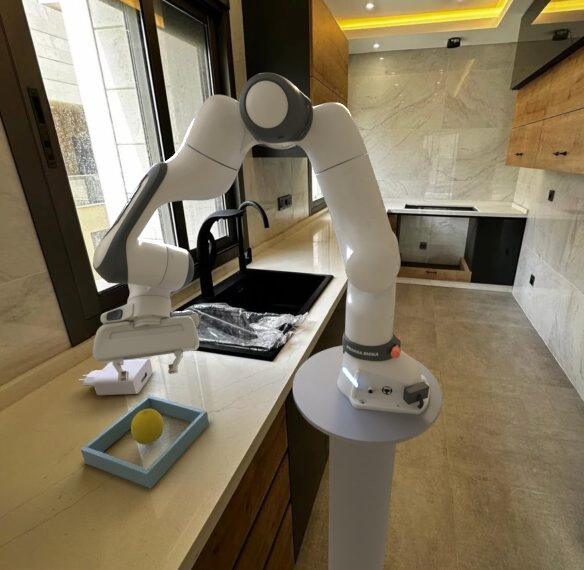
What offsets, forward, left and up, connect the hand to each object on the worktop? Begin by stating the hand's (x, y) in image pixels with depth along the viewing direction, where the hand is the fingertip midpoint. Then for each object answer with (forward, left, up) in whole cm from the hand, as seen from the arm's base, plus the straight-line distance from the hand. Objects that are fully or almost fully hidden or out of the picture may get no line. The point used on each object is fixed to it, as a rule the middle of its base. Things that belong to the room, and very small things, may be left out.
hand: (148, 376), depth 68 cm
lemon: (-4, +6, -11) cm, 13 cm away
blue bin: (-4, +6, -11) cm, 13 cm away
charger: (+19, -5, -11) cm, 22 cm away
